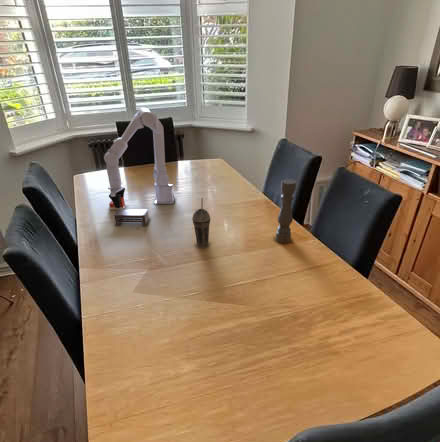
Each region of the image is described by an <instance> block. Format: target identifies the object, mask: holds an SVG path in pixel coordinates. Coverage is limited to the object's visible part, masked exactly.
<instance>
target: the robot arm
mask: <svg viewBox="0 0 440 442" xmlns="http://www.w3.org/2000/svg"><path fill="white" fill-rule="evenodd" d="M144 127H147V128H149V129H150V130H151V131H152V138H153V155H154V166H153V171H152V178H153V179H154V193H155V201H154V204H155V205H159V204H160V205H169V204H170V205H173V204H174V202H175V190H174V184H171V183H169V182H170V178H169V175H168V170H167V167H166V155H165V153H166V151H165V132H164V125H163V124H162V123H161V121H160V120H159V118H158V116H157V115H156V114H155V113H153V112H152V111H150V110H149V109H148V108H146V107H140V109H138V111H137V113H135V114H134V116H133V117H132V119H131V121H130V122H129V124H128V126H127V127H126V128H125V130H124V132H123V134H122V135H121V137H117V138H116V139H113V141H112V145H111V147H110V148H107V151H106V153H104V155H103V160H104V162H105V166H106V173H107V178H108V183H109V186H108V187H107V190H110V193H109V194H108V198H109V199H110V201H112V202H113V203H114V206H115V208H120V197H124V198H125V191H126V188H125V187H124V186H123V182H122V178H121V177H122V176H121V172H120V168H119V160H120V159H121V157H122V156H123V154H124V153H125V151H126V150H127V148H128V146H129V145H128V142H129V141H130V139H131V138H132V137H133V135H134V134H135V133H136V132H137V131H138V130H140V129H144Z"/></svg>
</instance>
